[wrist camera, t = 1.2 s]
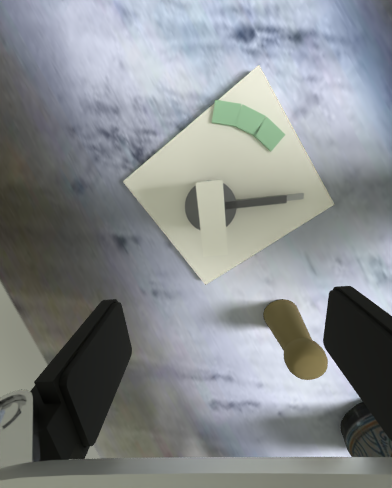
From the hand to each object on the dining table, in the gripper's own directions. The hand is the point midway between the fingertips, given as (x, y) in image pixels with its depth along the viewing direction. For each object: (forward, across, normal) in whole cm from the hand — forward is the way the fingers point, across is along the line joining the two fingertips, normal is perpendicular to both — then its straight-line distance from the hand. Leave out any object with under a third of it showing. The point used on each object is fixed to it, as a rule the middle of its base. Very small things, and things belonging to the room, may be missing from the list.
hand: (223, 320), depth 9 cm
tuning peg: (+21, -3, -2) cm, 22 cm away
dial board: (+23, -3, -4) cm, 24 cm away
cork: (+23, -11, +18) cm, 31 cm away
